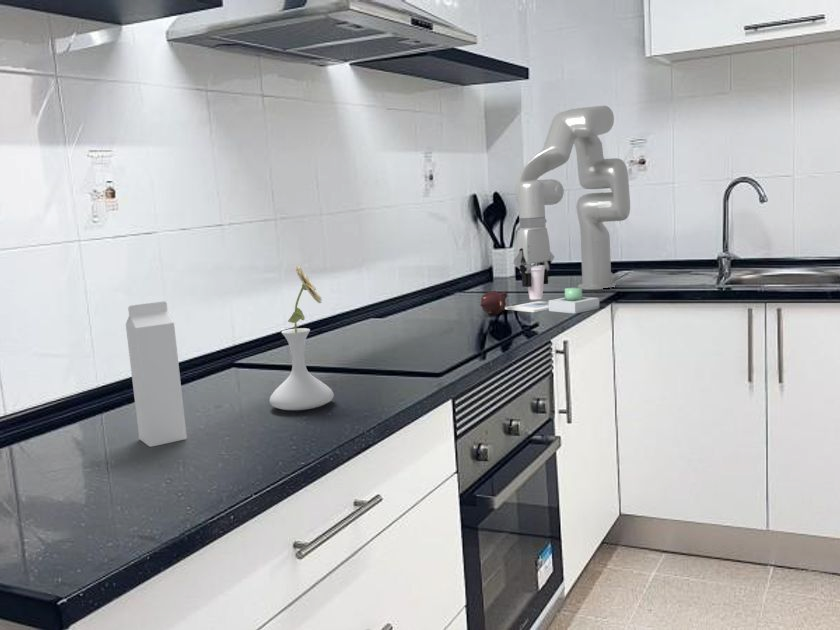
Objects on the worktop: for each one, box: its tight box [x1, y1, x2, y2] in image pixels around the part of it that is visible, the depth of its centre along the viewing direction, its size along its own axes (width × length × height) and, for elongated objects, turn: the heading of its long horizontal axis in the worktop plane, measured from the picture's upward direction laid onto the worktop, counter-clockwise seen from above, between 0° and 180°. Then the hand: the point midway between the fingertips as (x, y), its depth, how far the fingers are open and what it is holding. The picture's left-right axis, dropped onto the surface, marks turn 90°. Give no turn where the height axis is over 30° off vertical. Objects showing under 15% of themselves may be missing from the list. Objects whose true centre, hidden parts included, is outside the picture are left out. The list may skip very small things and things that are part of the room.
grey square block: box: [548, 296, 600, 315], centre depth 241 cm, size 10×10×3 cm
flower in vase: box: [269, 265, 335, 411], centre depth 149 cm, size 13×11×25 cm
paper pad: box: [504, 300, 549, 313], centre depth 250 cm, size 14×12×1 cm
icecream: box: [479, 290, 508, 316], centre depth 242 cm, size 7×7×15 cm
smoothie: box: [525, 263, 546, 300], centre depth 249 cm, size 6×6×14 cm
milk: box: [125, 300, 188, 448], centre depth 134 cm, size 6×6×22 cm
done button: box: [564, 286, 583, 301], centre depth 240 cm, size 5×5×4 cm
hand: (535, 284), depth 249 cm, fingers closed on smoothie, 6 cm apart
